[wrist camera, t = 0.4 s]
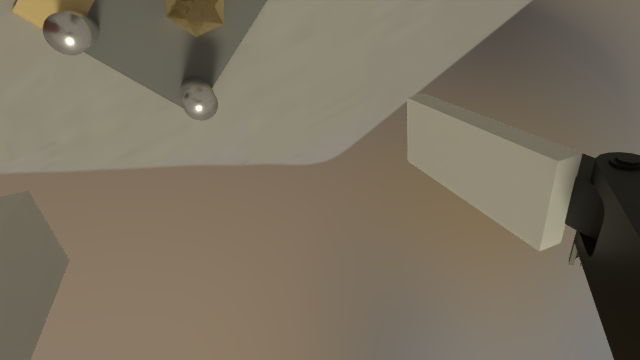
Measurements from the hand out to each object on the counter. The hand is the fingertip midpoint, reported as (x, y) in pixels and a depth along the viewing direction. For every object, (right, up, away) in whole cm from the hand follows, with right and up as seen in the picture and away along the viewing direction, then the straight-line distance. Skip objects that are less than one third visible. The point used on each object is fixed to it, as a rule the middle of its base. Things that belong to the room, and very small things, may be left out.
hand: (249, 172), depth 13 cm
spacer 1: (-17, +12, +17) cm, 27 cm away
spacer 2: (-9, +8, +22) cm, 25 cm away
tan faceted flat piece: (-8, +15, +18) cm, 25 cm away
